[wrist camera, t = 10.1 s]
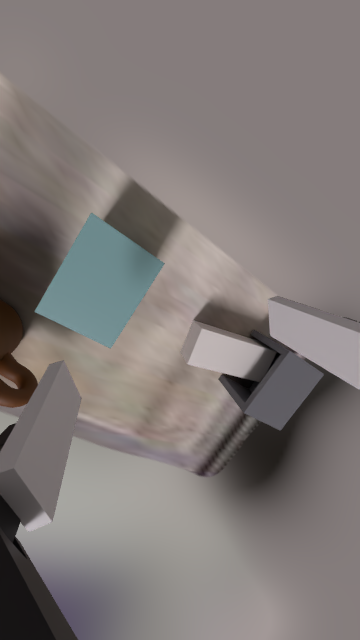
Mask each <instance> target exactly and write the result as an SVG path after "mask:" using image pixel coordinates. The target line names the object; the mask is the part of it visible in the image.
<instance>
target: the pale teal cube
mask: <svg viewBox="0 0 360 640" xmlns="http://www.w3.org/2000/svg"><path fill="white" fill-rule="evenodd" d="M164 264H165V263H163V262H162V261H160V260H159V259H157V258H156V257H155V256H153V255H152V254H150V253H149V252H147V251H146V250H145V249H143V248H142V247H140V246H139V245H137V244H136V243H134V242H133V241H132V240H130V239H129V238H127V237H126V236H124V235H123V234H122V233H120V232H119V231H117V230H116V229H114V228H113V227H111V226H110V225H109V224H107V223H106V222H104V221H103V220H101V219H100V218H99V217H97V216H96V215H94V214H93V213H91V214H90V216H89V218H88V219H87V221H86V223H85V225H84V226H83V228H82V230H81V231H80V233H79V235H78V237H77V238H76V240H75V242H74V244H73V245H72V247H71V249H70V251H69V252H68V254H67V256H66V258H65V259H64V261H63V263H62V265H61V266H60V268H59V270H58V272H57V273H56V275H55V277H54V279H53V280H52V282H51V284H50V285H49V287H48V289H47V291H46V292H45V294H44V296H43V298H42V299H41V301H40V303H39V305H38V306H37V308H36V310H35V312H36V313H38V314H40V315H42V316H44V317H46V318H48V319H51V320H53V321H55V322H57V323H59V324H61V325H63V326H65V327H67V328H69V329H71V330H73V331H75V332H77V333H80V334H82V335H84V336H86V337H88V338H90V339H92V340H94V341H96V342H98V343H100V344H102V345H104V346H106V347H109V348H111V347H112V346H113V344H114V343H115V341H116V339H117V338H118V336H119V335H120V333H121V332H122V330H123V328H124V327H125V325H126V324H127V322H128V320H129V319H130V317H131V316H132V314H133V313H134V311H135V309H136V308H137V306H138V305H139V303H140V302H141V300H142V298H143V297H144V295H145V294H146V292H147V291H148V289H149V287H150V286H151V284H152V283H153V281H154V279H155V278H156V276H157V275H158V273H159V272H160V270H161V268H162V267H163V265H164Z"/></svg>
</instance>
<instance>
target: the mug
mask: <svg viewBox="0 0 360 640" xmlns="http://www.w3.org/2000/svg"><path fill="white" fill-rule="evenodd" d="M22 335H23V326H22V322H21V320H20V318H19V316H18V314H17V313H16V311H15V310H14V309H13V308H12V307H10V306H9V305H8V304H7V303H5V302H3V301H2V300H0V374H1V375H2V376H4V377H5V378H7V379H9V380H11V381H12V382H14V383H15V384H16V385H17V387H18V389H14V388H11V387H10V386H8V385H7V384H6V383H5V382H3V381H2V380H1V379H0V405H1V406H5V407H12V408H13V407H20V406H23V405H25V404H27V403H28V402H29V400H30V398H31V396H32V395H33V393H34V391H35V389H36V388H37V386H38V383H37V380H36V378H35V376H34V375H33V373H32V372H31V371H30V370H28V369H27V368H26V367H24V366H22V365H21V364H19V363H18V362H17V361H16V359H14V357H13V356H12V355H11V353H12V352H13V351H14V350H15V349H16V347H17V346H18V345H19V343H20V341H21V338H22Z"/></svg>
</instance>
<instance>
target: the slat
mask: <svg viewBox="0 0 360 640" xmlns="http://www.w3.org/2000/svg"><path fill="white" fill-rule="evenodd" d="M276 353H277V352H276V351H275V350H273V349H272V348H270V347H269V346H267V345H265V344H264V343H262V342H260V341H257V340H254V339H251V338H248V337H244V336H241V335H238V334H235V333H232V332H229V331H226V330H223V329H220V328H217V327H213V326H210V325H207V324H204V323H201V322H198V321H195V320H193V322H192V324H191V327H190V329H189V332H188V334H187V337H186V339H185V342H184V344H183V347H182V349H181V354H182V356H183V358H184V359H185V361H186V363H187V364H188V365H192V366H196V367H200V368H204V369H208V370H212V371H217V372H221V373H225V374H229V375H233V376H237V377H241V378H245V379H249V380H253V381H257V382H261V380H262V379H263V378H264V376H265V375H266V373H267V371H268V369H269V367H270V365H271V363H272V361H273V359H274V357H275V355H276Z"/></svg>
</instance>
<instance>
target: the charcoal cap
mask: <svg viewBox="0 0 360 640" xmlns="http://www.w3.org/2000/svg"><path fill="white" fill-rule="evenodd" d="M251 335H252V336H254V337H255V338H257V339H258V340H260V341H261V342H263V343H264V344H266V345H267V346H269V347H270V348H272V349H273V350H275V351H276V352H277V353H276V355H275V357H274V359H273V361H272V363H271V365H270V367H269V369H268V371H267V373H266V375H265V376H264V378H263V379H262V380H261V382H257V381H254V383H253V384H252V385H251V387H250V388H249V389H247V388H246V387H244V386H242V385H240V384H238V383H236V382H235V381H233V380H231V379H229V378H227V377H225V376H223V375H221V377H220V378H219V381H220V382H221V383H222V384H223V386H224V387H225V388H226V390H227V391H228V392H229V394H230V395H231V396H232V398H233V399H234V400H235V402H236V403H237V404H238V406H239V407H240V408H241V410H242V411H243V412H244V413H245V414H247V415H249V416H251V417H253V418H255V419H258V420H260V421H262V422H264V423H266V424H268V425H270V426H272V427H274V428H276V429H278V430H281V429H282V428H283V426H284V425H285V424H286V423H287V421H288V420H289V419H290V417H291V416H292V415H293V414H294V412H295V411H296V410H297V408H298V407H299V406H300V405H301V403H302V402H303V401H304V399H305V398H306V397H307V396H308V394H309V393H310V392H311V390H312V389H313V388H314V387H315V385H316V384H317V383H318V381H319V380H320V379H321V378H322V376H323V375H324V374H323V373H321V372H320V371H318V370H317V369H315V368H314V367H313V366H311V365H310V364H308V363H307V362H305V361H304V360H303V359H301V358H300V357H298V356H297V355H295V354H294V353H293V352H291V351H290V350H288V349H286V348H284V347H283V346H281V345H279V344H278V343H276V342H274V341H273V340H271V339H269V338H268V337H266V336H264V335H263V334H261V333H259V332H257V331H256V330H253V332H252V333H251Z"/></svg>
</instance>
